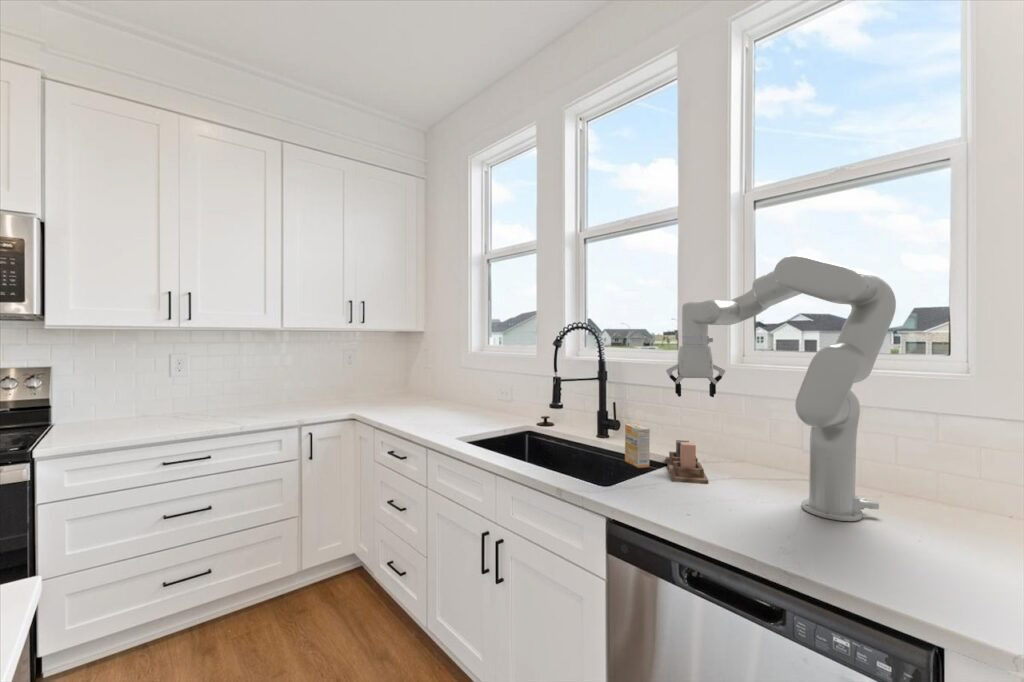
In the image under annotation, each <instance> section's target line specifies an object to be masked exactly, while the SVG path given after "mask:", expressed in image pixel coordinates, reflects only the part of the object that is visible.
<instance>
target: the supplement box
mask: <svg viewBox="0 0 1024 682" xmlns="http://www.w3.org/2000/svg"><path fill="white" fill-rule="evenodd" d="M624 427H625V428H624V433H625V434H624V438H625V439H624V461H625V463H627V464H630V465H632V466H634V467H636V468H637V469H640V468H641V469H642V468H649V467H650V444H651V443H650V440H651V439H650V437H651V436H650V435H651V434H650V433H651V429H650V427H649V428H648V427H646V426H643V425H641V424H638V423H626V424H625V426H624Z"/></svg>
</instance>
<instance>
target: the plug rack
mask: <svg viewBox="0 0 1024 682" xmlns="http://www.w3.org/2000/svg"><path fill="white" fill-rule="evenodd" d="M675 440H676V439H675ZM680 442H690V440H684V439H683V440H676V441H675V451H669V452H668V454H669V455H668V456H666V457H665V462H666V464H667V468H668V471H669V473H670V477H671V480H672V482H679V483H681V482H682V483H692V484H693V483H694V484H706V485H707V484H709V479H708V477H707V476H706V474H705V471H704V468H703V466H702V464H701V463H700V462H699V461H698V460H699V459H698V457H697V456H696V468H683V467H680Z"/></svg>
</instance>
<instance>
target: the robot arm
mask: <svg viewBox="0 0 1024 682" xmlns="http://www.w3.org/2000/svg"><path fill="white" fill-rule="evenodd" d="M751 286H752V288H751V289H750V290H749V291H747V292H745V293H744V294H741V295H739V296H737V297H735V298H732V299H730V300H727V299H709V300H705V301H704V300H703V301H694V302H685V303H683V304H682V306H681V326H682V327H681V328H682V330H681V335H682V336H681V337H682V340H681V341H682V342H681V346H679V347H678V355H677V364H674V365H673V366H671V367H669V368H667V369H666V370H665V371H666V373H667V375H668V377H669V379H670V380H671V381H673V383H675V384H674V385H675V388H674V390H675V391H674V392H675V394H676V395H677V397H678V398H679V397H680V398H681V396H682V384H681V381H683V379H707V380H709V382H710V383H709V385H708V387H709V392H708V393H709V394H708V395H709V397H711V398H714V397H715V395H716V393H717V387H716V386H717V384H718V383H719V382H720V380H722V379H723V376H724V375H725V373H726V370H725V369H724V368H721V367H719V366H717V365H715V364H713V363H714V361H713V353H712V348H711V346H710V345H709V344H710V343H713V342H714V338H713V337H710V336H709V325H710V326H732V325H735V324H739V323H741V322H743V321H746V320H749V319H751V318H753V317H756V316H757V315H760V314H761V313H763V312H765V311H766V310H768V309H769V308H770V307H773V306H775V305H777V304H779V303H783V302H784V301H786V300H787V301H788V300H789V299H791V298H794V297H797V296H799V295H802V294H803V295H806V296H811V297H812V298H813V297H814V298H817V299H820V300H822V301H825V302H829V303H833V304H838V305H840V304H841V305H849V306H850V307H851V310H850V313H849V315H848V316H847V318H846V320H845V321H844V322H843V325H842V328H841V330H840V333H839V336H838V338H837V339H836V342H835V344H831V345H827V346H824V347H823V348H821V349H819V350H818V351H817V352H816V353H815V354H814V356H813V357H812V358H811V361H810V363H809V365H808V368H807V370H806V371H805V372H806V373H805V375H804V378H803V380H802V382H801V384H800V388H799V390H798V393H797V396H796V397H795V399H796V400H795V405H794V406H795V412H796V415H797V416H798V418H799V419H800V420H801V422H803V423H804V424H805V425H807V426H810V427H811V428H810V436H809V475H808V476H809V477H808V478H809V480H808V481H809V482H808V483H809V484H808V486H809V487H808V498H805V499H803V500H802V501H801V507H802V509H803V510H804V511H805V512H808V513H810V514H811V515H814V516H817V517H819V518H824V519H829V520H834V521H841V522H854V521H855V522H856V521H860V520H861V519H863V517H864V512H863V510H864V509H868V510H879V509H880V505H879V502H878V501H877V500H868V499H867V498H865V497H864V498H863V497H858V496H857V495H856V481H857V479H856V478H857V477H856V472H857V470H856V467H857V464H856V463H857V440H858V439H857V438H858V437H857V435H858V426H859V422H860V421H859V420H860V414H861V413H860V412H861V406H860V401H859V399H858V397H857V396H856V394H855V393H854V392H853V390H851V389H852V386H853V385H854V384H857V383H860V382H863V381H864V380H866V379H867V378H868V377H869V376H870V375H871V373H872V371H873V368H874V366H875V363H876V360H877V358H878V356H879V353H880V352H881V348H882V347H883V344H884V343H885V338H886V336H887V333H888V332H889V330H890V326H891V325H892V322H893V319H894V316H895V314H896V310H897V309H896V308H897V300H896V295H895V293H894V291H893V288H891V286H890V285H889V283H888V282H886V281H885V280H884V279H883V278H882V277H880V276H879V275H877V274H875V273H873V272H871V271H869V270H865V269H860V268H855V267H849V266H846V265H840V264H836V263H831V262H827V261H823V260H821V259H818V258H816V257H814V256H810V255H805V254H804V255H803V254H798V253H796V254H795V253H794V254H789V255H787V256H785V257H783V258H781V259H780V260H779V261H778V262H777V264H776V265H775V267H774V270H773V271H770V272H768V273H766V274H764V275H761V276H759V277H757V278H756V279H754V280H753V282H752V285H751ZM676 370H677V375H678V376H674V374H673V372H674V371H676ZM714 371H717V372H718V374H717V375H716V376H715V377H714V376H713V375H714Z"/></svg>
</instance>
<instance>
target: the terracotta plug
mask: <svg viewBox="0 0 1024 682" xmlns="http://www.w3.org/2000/svg"><path fill="white" fill-rule="evenodd" d="M696 448H697V447H696V444H695V442H691V441H689V442H680V467H683V468H696V457H697V455H696V453H697V452H696V451H697V449H696Z"/></svg>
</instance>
